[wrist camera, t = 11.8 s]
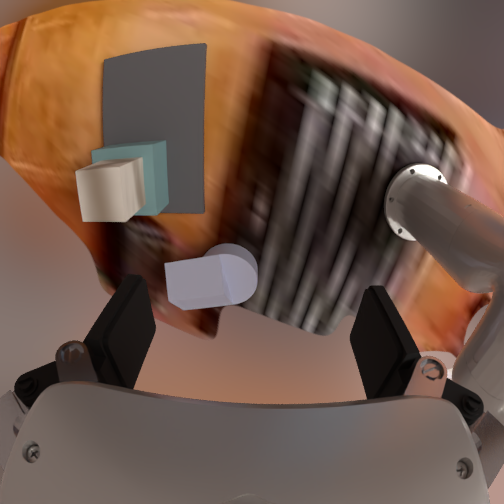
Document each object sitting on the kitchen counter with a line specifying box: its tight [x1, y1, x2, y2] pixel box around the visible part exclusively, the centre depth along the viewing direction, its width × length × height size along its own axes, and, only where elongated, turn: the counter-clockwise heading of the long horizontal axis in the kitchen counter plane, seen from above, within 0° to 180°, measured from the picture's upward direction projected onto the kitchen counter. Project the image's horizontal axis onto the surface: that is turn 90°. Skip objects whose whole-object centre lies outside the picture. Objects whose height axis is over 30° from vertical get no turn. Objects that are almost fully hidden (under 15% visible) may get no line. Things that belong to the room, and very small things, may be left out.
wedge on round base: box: [165, 244, 258, 310], centre depth 41 cm, size 9×7×13 cm
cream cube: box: [75, 157, 146, 222], centre depth 28 cm, size 6×6×6 cm
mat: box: [103, 43, 207, 214], centre depth 33 cm, size 15×24×1 cm, turn 178°
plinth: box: [91, 140, 169, 215], centre depth 33 cm, size 9×9×5 cm
